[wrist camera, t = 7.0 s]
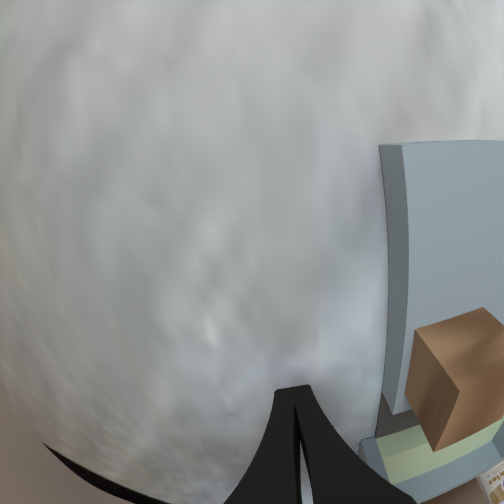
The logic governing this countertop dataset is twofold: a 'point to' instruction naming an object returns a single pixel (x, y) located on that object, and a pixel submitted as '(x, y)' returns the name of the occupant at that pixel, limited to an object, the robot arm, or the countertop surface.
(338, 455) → the robot arm
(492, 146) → the grey pocketed tray
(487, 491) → the sprinkles bottle
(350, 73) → the countertop surface
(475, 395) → the block
